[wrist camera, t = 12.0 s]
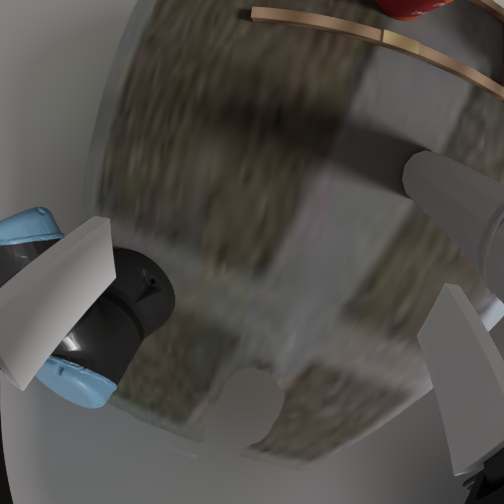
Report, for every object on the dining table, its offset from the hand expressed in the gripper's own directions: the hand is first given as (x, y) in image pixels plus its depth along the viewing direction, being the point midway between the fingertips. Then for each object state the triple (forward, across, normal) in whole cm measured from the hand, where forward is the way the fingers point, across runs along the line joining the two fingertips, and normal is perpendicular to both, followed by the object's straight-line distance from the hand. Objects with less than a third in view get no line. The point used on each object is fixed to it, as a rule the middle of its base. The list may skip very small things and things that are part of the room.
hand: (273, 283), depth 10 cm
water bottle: (+27, +18, +2) cm, 32 cm away
